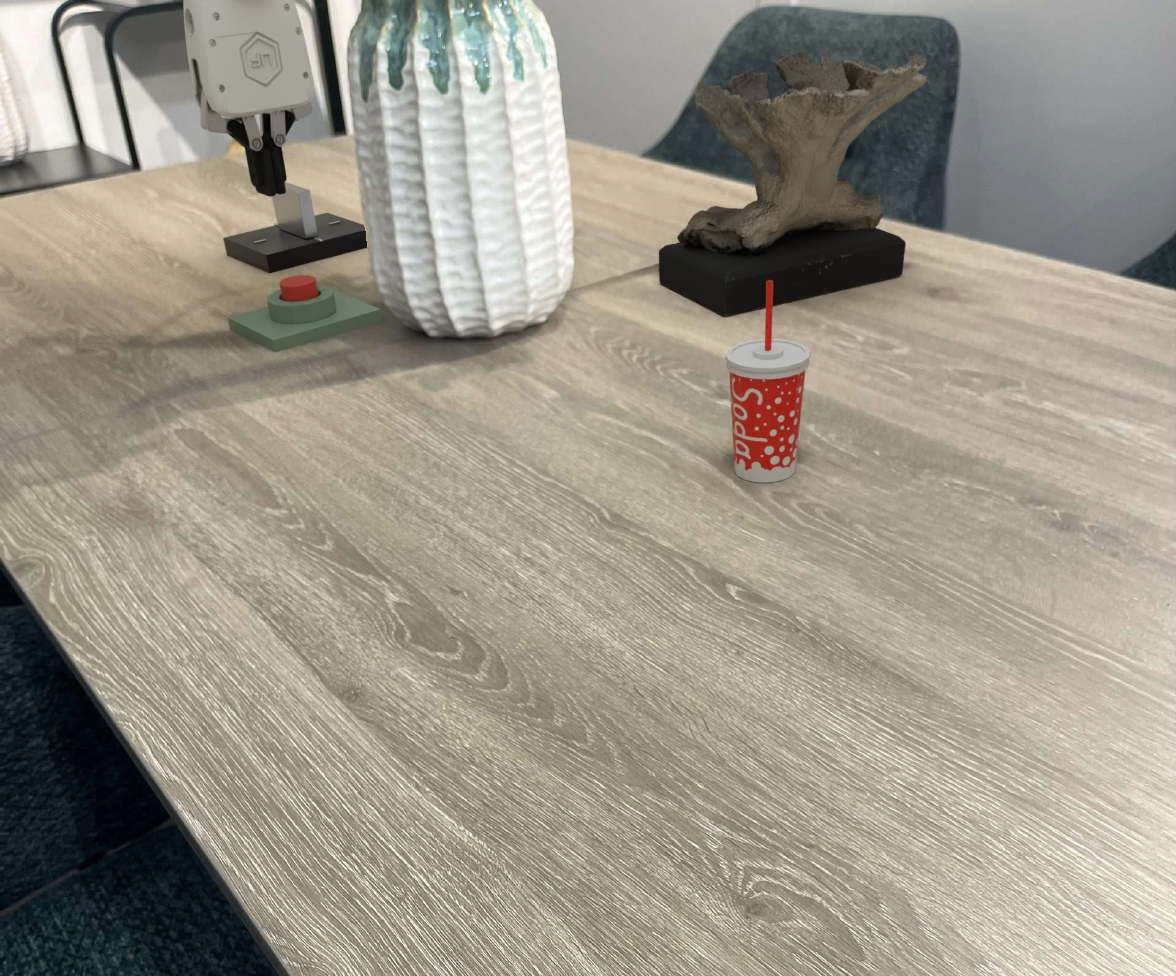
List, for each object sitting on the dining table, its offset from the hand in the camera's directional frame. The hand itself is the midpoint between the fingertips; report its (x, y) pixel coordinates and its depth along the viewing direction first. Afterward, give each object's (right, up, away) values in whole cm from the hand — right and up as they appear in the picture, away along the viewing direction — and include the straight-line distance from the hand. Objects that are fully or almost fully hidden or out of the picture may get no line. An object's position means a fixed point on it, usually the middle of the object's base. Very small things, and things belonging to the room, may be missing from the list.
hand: (271, 192), depth 121 cm
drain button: (+1, -8, +6) cm, 10 cm away
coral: (+53, -4, +11) cm, 54 cm away
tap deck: (-4, +6, +30) cm, 31 cm away
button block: (+2, -11, +8) cm, 14 cm away
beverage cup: (+44, -32, -23) cm, 59 cm away
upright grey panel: (-4, +8, +28) cm, 30 cm away
